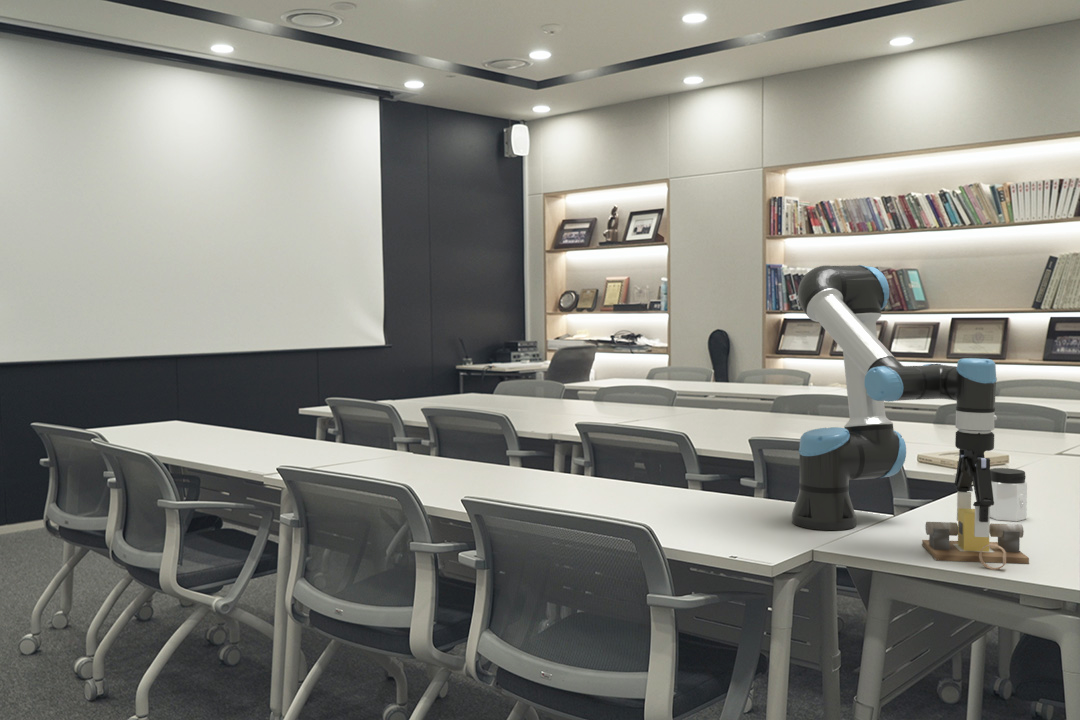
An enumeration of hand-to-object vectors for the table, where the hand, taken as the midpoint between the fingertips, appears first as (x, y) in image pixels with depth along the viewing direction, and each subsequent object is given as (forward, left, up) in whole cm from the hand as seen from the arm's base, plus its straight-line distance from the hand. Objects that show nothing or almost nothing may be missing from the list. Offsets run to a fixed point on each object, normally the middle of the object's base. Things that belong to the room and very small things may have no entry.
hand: (972, 528), depth 198 cm
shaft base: (0, 0, -5) cm, 5 cm away
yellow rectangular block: (0, 0, -4) cm, 4 cm away
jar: (+18, +38, -6) cm, 42 cm away
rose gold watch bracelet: (+1, -12, -6) cm, 13 cm away
